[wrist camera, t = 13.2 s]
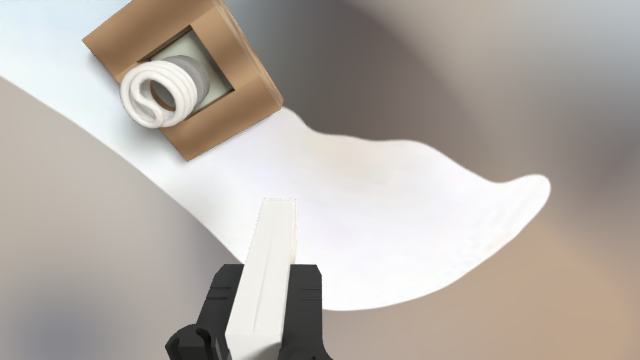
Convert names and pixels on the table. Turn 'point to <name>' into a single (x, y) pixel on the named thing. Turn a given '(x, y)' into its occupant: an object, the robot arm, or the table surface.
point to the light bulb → (164, 90)
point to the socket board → (204, 46)
